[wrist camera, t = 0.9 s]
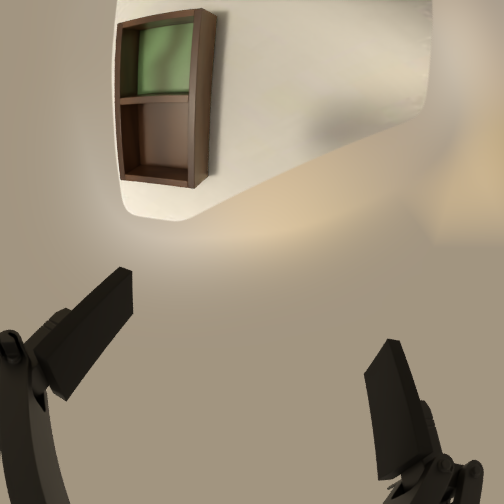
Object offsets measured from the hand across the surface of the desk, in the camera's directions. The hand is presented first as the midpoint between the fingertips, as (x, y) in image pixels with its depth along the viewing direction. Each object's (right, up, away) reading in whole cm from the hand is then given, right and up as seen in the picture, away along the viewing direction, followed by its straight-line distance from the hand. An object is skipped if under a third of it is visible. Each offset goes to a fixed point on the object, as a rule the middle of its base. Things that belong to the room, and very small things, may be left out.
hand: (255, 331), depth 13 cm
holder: (-11, +24, +18) cm, 31 cm away
